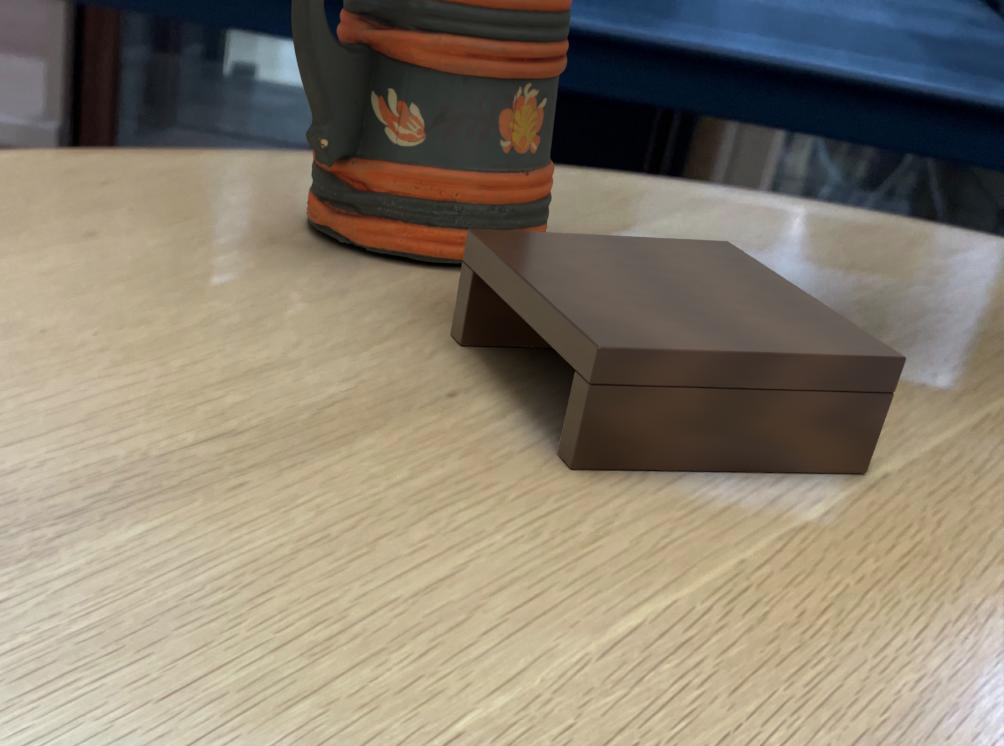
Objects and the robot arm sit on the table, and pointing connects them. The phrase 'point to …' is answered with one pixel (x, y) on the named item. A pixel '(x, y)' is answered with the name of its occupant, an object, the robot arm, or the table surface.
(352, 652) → the table surface
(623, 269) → the shoe shelf
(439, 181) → the beer stein
